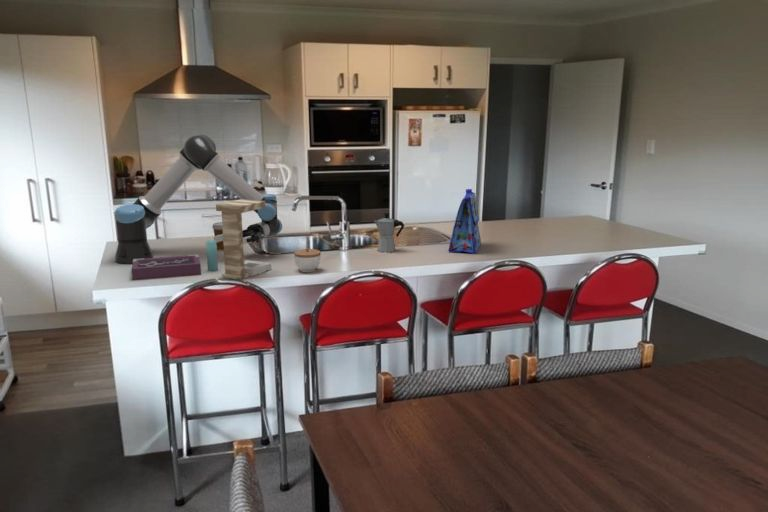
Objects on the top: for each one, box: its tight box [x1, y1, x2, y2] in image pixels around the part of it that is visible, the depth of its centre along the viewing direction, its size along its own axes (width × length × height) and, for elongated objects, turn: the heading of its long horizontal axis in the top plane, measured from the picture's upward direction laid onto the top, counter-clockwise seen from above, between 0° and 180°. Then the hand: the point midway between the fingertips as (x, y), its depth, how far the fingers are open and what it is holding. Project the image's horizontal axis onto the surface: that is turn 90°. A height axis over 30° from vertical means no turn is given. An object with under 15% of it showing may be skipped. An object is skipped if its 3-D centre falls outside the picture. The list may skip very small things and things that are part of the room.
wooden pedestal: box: [215, 198, 266, 280], centre depth 229 cm, size 16×12×28 cm
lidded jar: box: [293, 247, 322, 273], centre depth 236 cm, size 11×11×9 cm
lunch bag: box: [448, 188, 482, 255], centre depth 275 cm, size 22×14×29 cm, turn 164°
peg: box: [205, 239, 219, 272], centre depth 236 cm, size 4×4×12 cm
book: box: [131, 254, 202, 281], centre depth 233 cm, size 25×16×5 cm, turn 110°
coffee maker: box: [373, 212, 405, 254], centre depth 271 cm, size 15×9×18 cm, turn 73°
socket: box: [244, 259, 272, 277], centre depth 236 cm, size 12×12×2 cm
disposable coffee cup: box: [211, 221, 224, 251], centre depth 274 cm, size 10×10×12 cm
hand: (227, 240), depth 244 cm, fingers open, 13 cm apart
